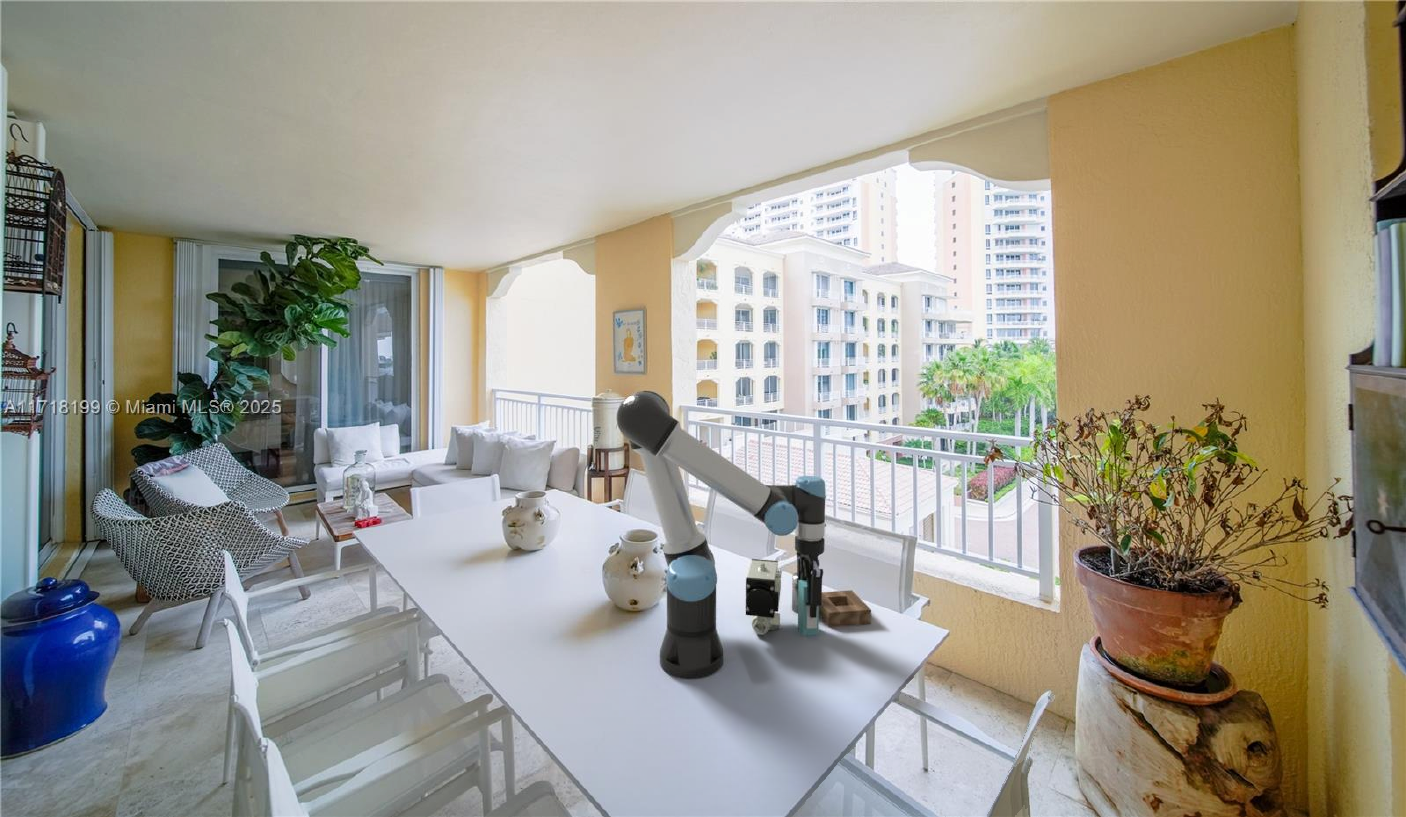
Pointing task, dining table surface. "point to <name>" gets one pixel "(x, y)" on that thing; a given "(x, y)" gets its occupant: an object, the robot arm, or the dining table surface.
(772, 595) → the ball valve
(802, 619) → the square bit
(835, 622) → the bore block
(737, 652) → the dining table surface
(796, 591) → the round bit
